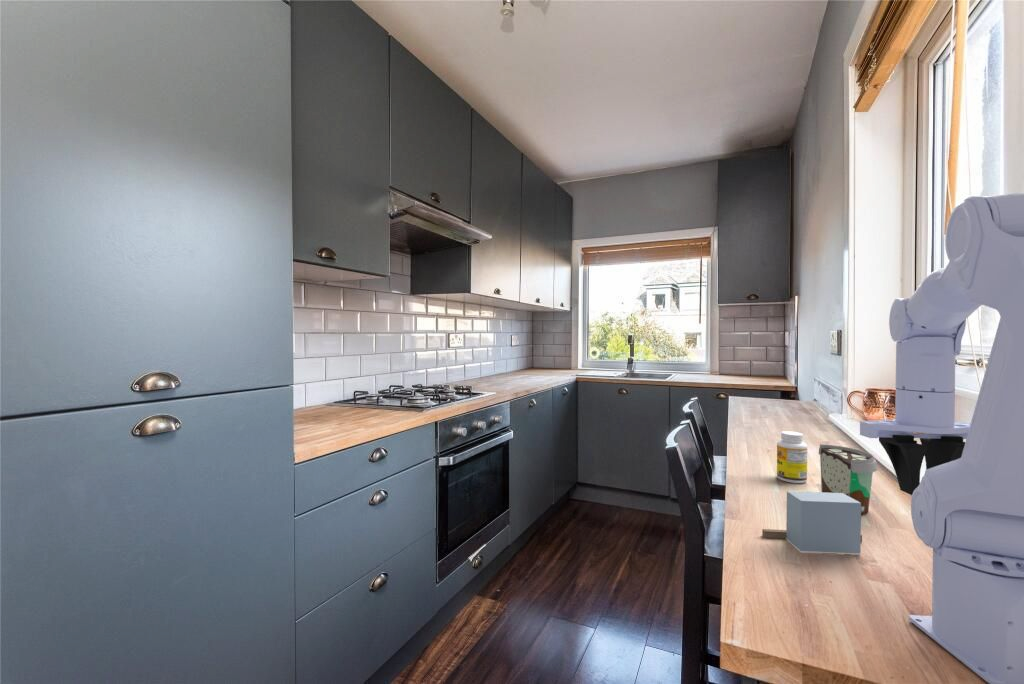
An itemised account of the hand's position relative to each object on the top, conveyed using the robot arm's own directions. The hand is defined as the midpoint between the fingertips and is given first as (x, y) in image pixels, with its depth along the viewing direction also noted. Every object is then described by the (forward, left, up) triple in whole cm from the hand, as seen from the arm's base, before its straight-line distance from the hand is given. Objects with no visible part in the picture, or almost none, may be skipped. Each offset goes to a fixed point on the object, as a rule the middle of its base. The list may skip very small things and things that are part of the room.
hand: (922, 493), depth 58 cm
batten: (+9, +9, -10) cm, 16 cm away
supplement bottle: (+38, -3, -11) cm, 40 cm away
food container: (+23, -6, -11) cm, 26 cm away
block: (+6, +9, -10) cm, 15 cm away
